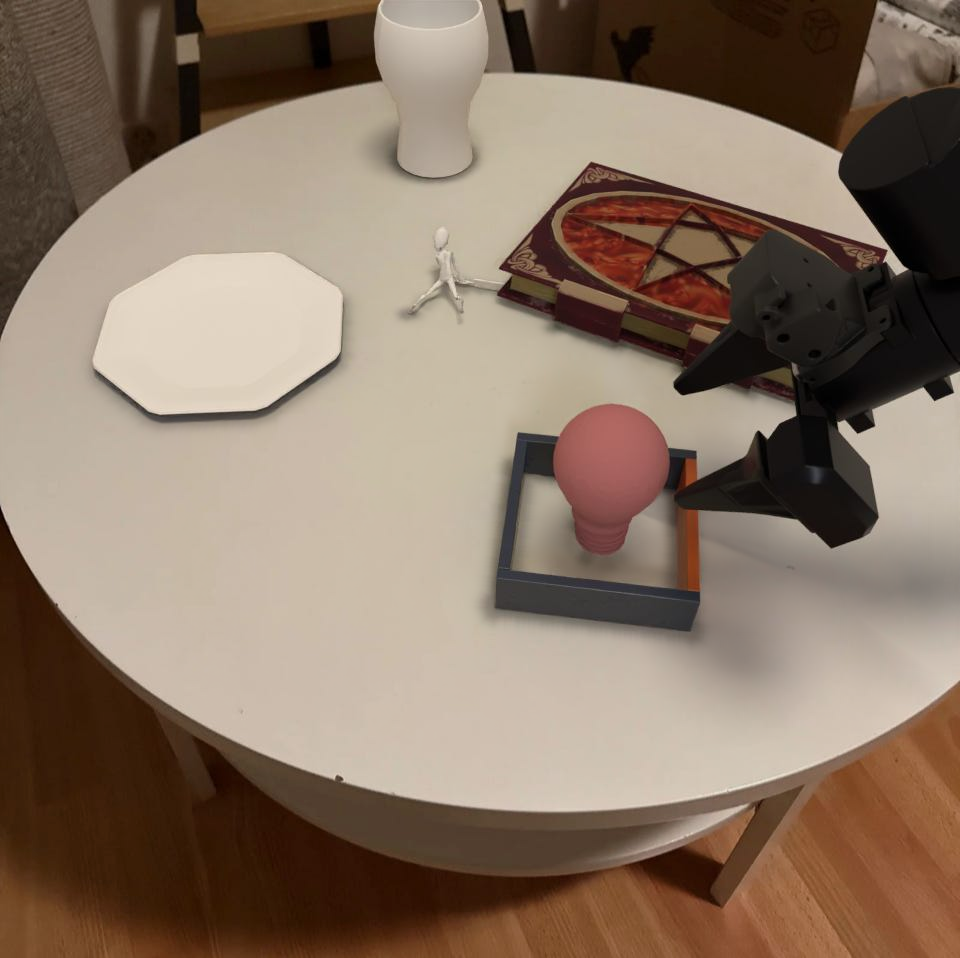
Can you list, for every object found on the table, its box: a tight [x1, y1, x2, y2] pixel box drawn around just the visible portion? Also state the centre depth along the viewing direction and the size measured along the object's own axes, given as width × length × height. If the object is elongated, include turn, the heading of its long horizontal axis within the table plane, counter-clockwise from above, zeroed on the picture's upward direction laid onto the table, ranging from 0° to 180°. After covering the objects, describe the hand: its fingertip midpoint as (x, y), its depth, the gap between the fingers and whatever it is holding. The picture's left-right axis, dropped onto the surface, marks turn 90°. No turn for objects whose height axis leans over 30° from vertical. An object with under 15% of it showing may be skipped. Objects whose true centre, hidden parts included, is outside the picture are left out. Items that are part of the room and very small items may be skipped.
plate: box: [91, 251, 344, 417], centre depth 77 cm, size 20×20×2 cm
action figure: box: [407, 226, 506, 315], centre depth 79 cm, size 12×5×7 cm
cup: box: [373, 0, 490, 179], centre depth 89 cm, size 11×11×15 cm
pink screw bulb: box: [553, 403, 670, 556], centre depth 59 cm, size 7×7×12 cm
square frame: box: [494, 431, 701, 632], centre depth 62 cm, size 13×13×4 cm
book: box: [496, 161, 889, 402], centre depth 79 cm, size 28×21×5 cm
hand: (677, 442), depth 55 cm, fingers open, 9 cm apart
